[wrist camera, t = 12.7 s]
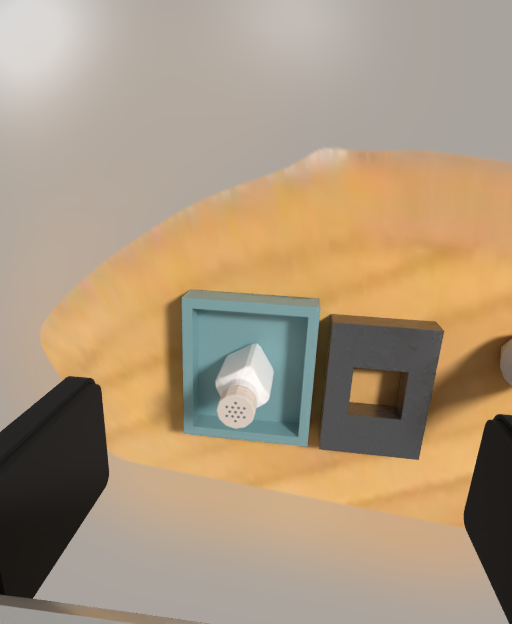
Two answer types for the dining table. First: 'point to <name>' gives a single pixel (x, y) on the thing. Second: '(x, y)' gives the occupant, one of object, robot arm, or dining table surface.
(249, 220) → the dining table surface
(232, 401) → the pepper shaker
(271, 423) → the tray
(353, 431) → the socket block
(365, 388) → the dining table surface
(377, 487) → the dining table surface
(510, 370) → the salt shaker
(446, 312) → the dining table surface
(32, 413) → the robot arm
